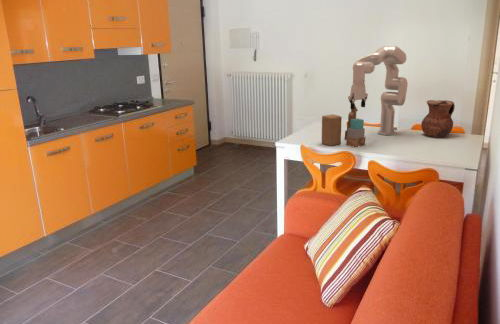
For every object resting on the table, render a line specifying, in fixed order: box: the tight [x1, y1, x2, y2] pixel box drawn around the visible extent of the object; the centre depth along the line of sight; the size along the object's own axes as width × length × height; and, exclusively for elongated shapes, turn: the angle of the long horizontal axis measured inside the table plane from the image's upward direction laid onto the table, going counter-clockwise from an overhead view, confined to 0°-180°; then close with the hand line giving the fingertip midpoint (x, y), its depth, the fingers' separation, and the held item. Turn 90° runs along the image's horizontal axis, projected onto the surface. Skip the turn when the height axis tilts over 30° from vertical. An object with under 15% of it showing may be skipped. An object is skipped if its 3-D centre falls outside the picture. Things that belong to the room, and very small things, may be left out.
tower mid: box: [347, 127, 366, 139], centre depth 279 cm, size 8×8×6 cm
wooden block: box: [321, 114, 342, 147], centre depth 284 cm, size 10×10×20 cm
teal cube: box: [350, 118, 365, 130], centre depth 277 cm, size 6×6×6 cm
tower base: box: [345, 136, 366, 148], centre depth 280 cm, size 9×9×6 cm
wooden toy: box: [344, 105, 364, 140], centre depth 297 cm, size 16×7×25 cm, turn 138°
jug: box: [421, 99, 455, 138], centre depth 296 cm, size 22×21×25 cm
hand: (357, 108), depth 274 cm, fingers open, 9 cm apart
